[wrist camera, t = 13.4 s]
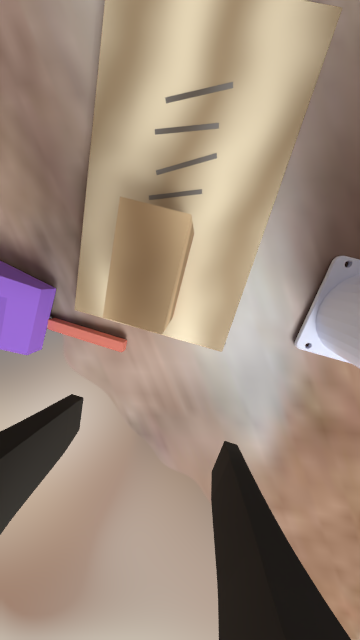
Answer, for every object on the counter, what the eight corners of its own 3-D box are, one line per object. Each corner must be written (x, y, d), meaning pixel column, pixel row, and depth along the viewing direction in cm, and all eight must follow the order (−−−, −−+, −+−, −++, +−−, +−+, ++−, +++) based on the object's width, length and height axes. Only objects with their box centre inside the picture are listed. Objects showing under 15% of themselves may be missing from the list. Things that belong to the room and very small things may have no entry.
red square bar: (127, 340, 18) (123, 342, 17) (125, 349, 18) (121, 352, 17) (44, 314, 19) (37, 316, 18) (44, 323, 19) (36, 325, 18)
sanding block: (194, 233, 14) (191, 214, 10) (172, 317, 16) (162, 334, 11) (144, 220, 14) (119, 196, 10) (129, 305, 16) (102, 317, 12)
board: (328, 35, 11) (342, 7, 10) (220, 346, 17) (221, 352, 16) (117, -8, 12) (108, -39, 11) (82, 307, 18) (74, 310, 17)
